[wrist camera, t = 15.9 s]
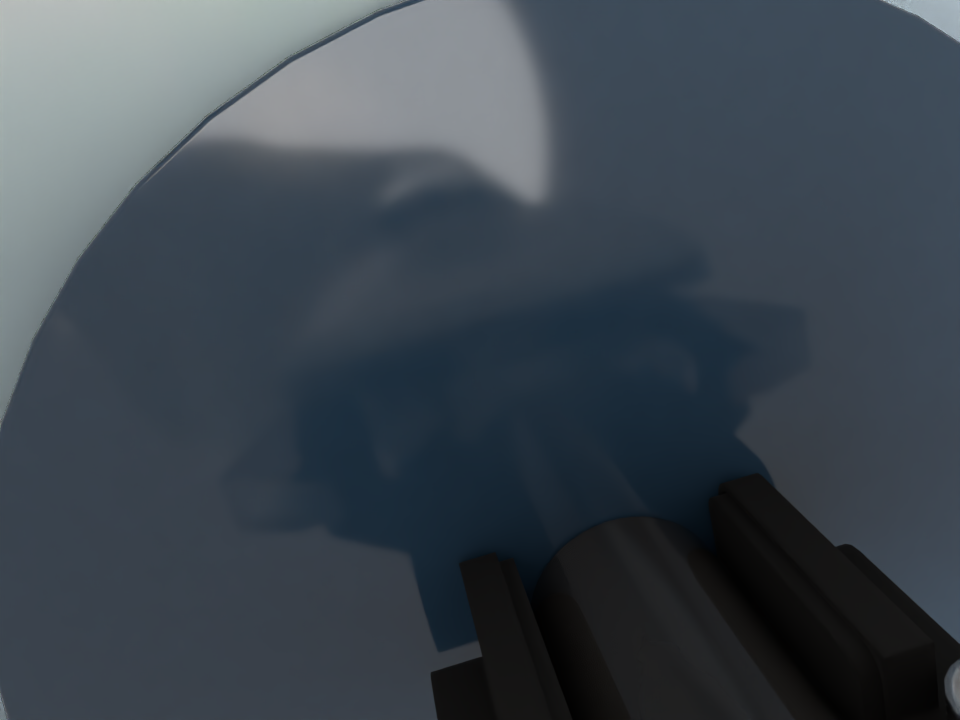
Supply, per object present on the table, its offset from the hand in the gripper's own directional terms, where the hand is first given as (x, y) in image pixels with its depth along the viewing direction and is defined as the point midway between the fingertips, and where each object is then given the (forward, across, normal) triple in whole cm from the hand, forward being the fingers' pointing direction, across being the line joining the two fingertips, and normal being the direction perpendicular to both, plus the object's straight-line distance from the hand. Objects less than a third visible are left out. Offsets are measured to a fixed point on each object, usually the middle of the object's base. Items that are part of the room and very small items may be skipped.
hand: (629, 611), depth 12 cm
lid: (+1, 0, 0) cm, 1 cm away
